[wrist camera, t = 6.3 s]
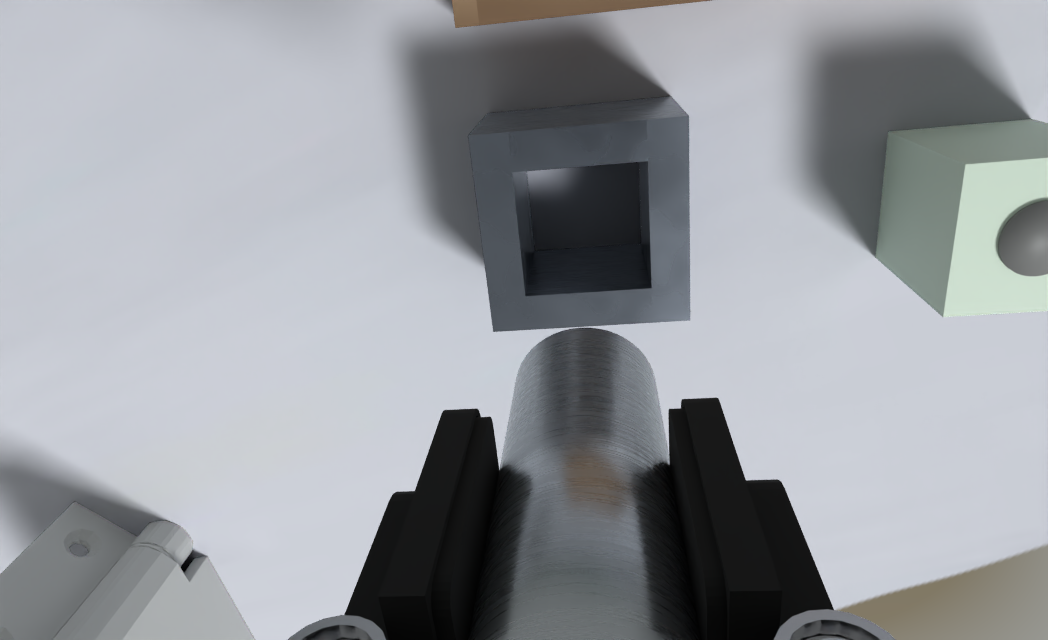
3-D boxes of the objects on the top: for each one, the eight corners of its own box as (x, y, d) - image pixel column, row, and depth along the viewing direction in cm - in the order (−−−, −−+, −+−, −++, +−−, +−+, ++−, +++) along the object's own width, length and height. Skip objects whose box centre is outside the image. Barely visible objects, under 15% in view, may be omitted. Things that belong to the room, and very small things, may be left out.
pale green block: (887, 131, 27) (968, 165, 21) (1030, 118, 26) (1152, 150, 20) (875, 257, 29) (945, 319, 23) (1007, 248, 28) (1112, 309, 22)
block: (487, 113, 27) (468, 135, 23) (671, 96, 27) (688, 115, 22) (507, 282, 30) (493, 331, 26) (673, 271, 29) (690, 320, 25)
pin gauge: (505, 330, 14) (347, 972, 5) (657, 320, 13) (803, 992, 4) (521, 454, 15) (418, 1162, 6) (660, 449, 15) (783, 1191, 6)
